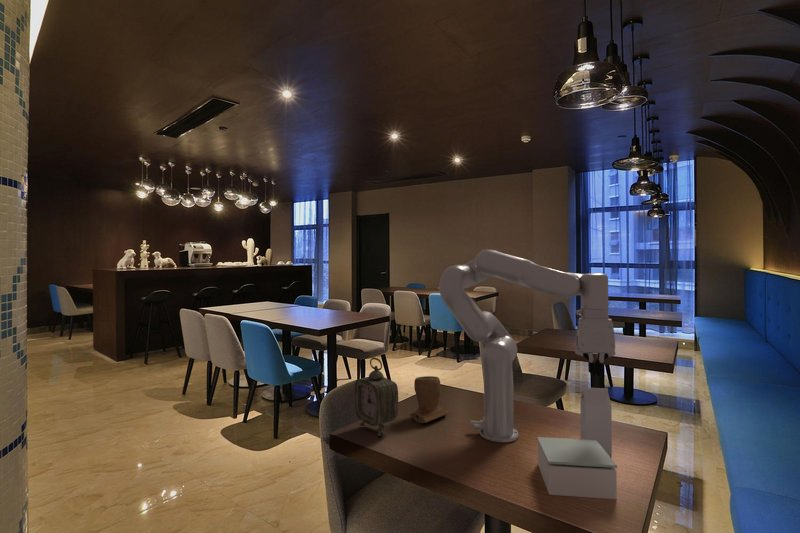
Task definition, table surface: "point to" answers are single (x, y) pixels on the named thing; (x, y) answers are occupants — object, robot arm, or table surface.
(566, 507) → the table surface
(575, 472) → the pastry box
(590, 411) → the milk carton
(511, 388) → the robot arm
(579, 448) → the box lid
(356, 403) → the tabletop clock
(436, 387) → the brown upright piece
